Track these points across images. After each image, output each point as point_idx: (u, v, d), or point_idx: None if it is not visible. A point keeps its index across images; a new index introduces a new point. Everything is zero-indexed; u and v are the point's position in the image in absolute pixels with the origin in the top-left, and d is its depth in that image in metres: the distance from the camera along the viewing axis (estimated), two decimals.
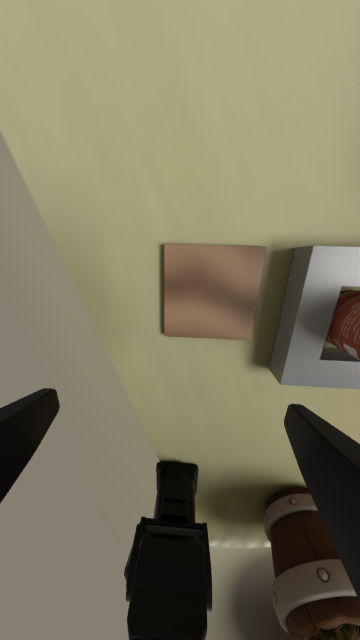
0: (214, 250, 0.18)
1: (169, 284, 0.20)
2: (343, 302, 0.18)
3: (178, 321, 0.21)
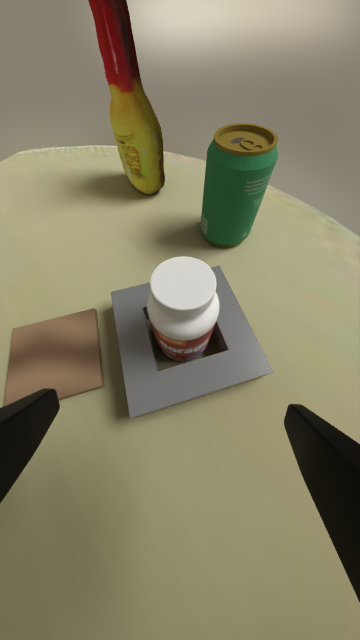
0: (54, 321, 0.23)
1: (14, 357, 0.21)
2: None
3: (20, 391, 0.20)
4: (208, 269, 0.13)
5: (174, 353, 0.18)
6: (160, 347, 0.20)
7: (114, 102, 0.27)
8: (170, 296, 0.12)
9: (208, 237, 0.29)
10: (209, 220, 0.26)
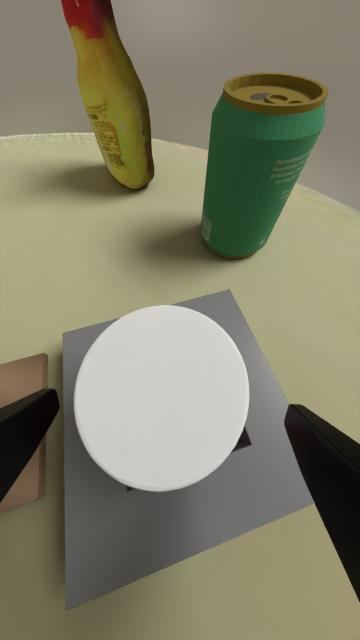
0: None
1: None
2: None
3: None
4: (226, 343, 0.05)
5: None
6: None
7: (79, 57, 0.19)
8: (123, 436, 0.04)
9: (211, 245, 0.21)
10: (214, 223, 0.18)
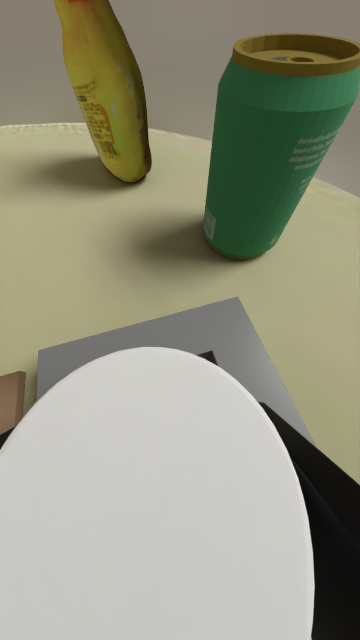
0: None
1: None
2: None
3: None
4: (258, 425, 0.03)
5: None
6: None
7: (63, 26, 0.16)
8: None
9: (215, 244, 0.18)
10: (219, 218, 0.16)
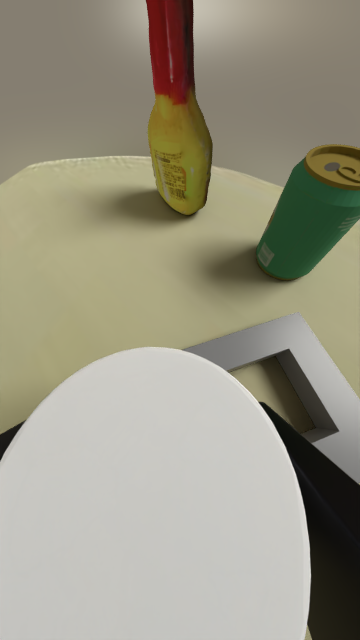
0: None
1: None
2: None
3: None
4: (258, 423, 0.03)
5: None
6: None
7: (161, 115, 0.22)
8: None
9: (269, 270, 0.25)
10: (277, 254, 0.22)
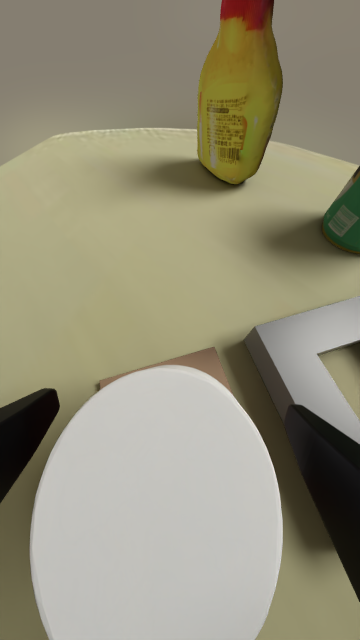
0: None
1: None
2: None
3: None
4: (245, 430, 0.04)
5: None
6: None
7: (226, 49, 0.19)
8: (99, 599, 0.03)
9: (344, 240, 0.21)
10: None
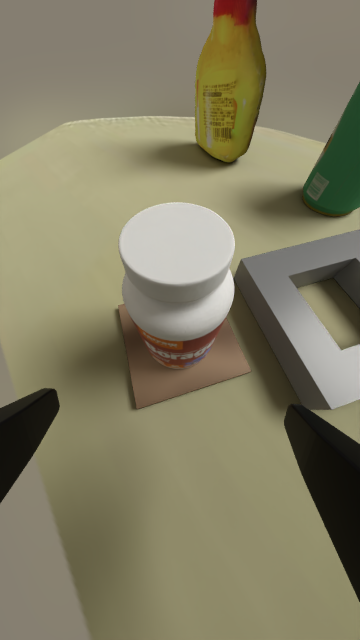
0: None
1: (129, 338, 0.17)
2: None
3: (150, 378, 0.16)
4: (219, 220, 0.08)
5: (166, 359, 0.13)
6: (148, 350, 0.15)
7: (218, 41, 0.22)
8: (153, 262, 0.07)
9: (319, 203, 0.25)
10: (333, 180, 0.22)
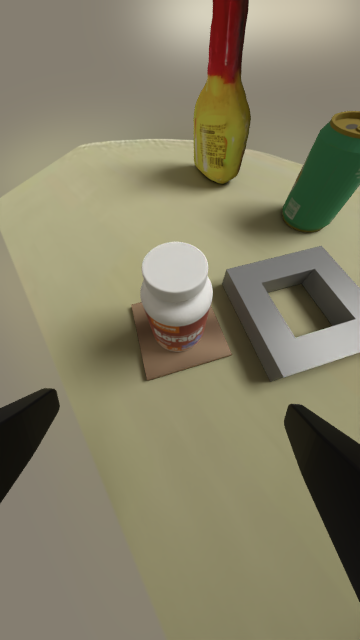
0: None
1: (141, 330, 0.23)
2: None
3: (156, 359, 0.21)
4: (200, 254, 0.13)
5: (169, 342, 0.18)
6: (155, 337, 0.21)
7: (211, 93, 0.28)
8: (161, 279, 0.12)
9: (294, 222, 0.30)
10: (303, 205, 0.28)
